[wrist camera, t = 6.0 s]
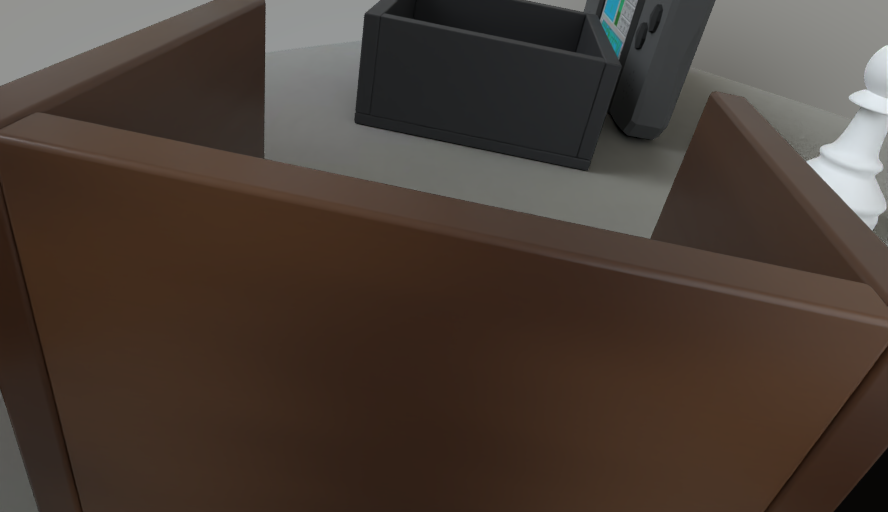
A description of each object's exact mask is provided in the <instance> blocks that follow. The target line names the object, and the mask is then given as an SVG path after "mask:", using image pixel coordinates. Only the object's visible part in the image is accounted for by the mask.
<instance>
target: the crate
mask: <svg viewBox="0 0 888 512" xmlns="http://www.w3.org/2000/svg"><path fill="white" fill-rule="evenodd" d="M264 105H265V0H213V1H211V2H208V3H206V4H203V5H201V6H199V7H196V8H193V9H191V10H188V11H186V12H183V13H181V14H179V15H176V16H174V17H171V18H169V19H166V20H164V21H161V22H159V23H156V24H154V25H151V26H149V27H146V28H144V29H141V30H139V31H136V32H134V33H131V34H129V35H126V36H124V37H121V38H119V39H116V40H114V41H111V42H109V43H106V44H104V45H102V46H99V47H96V48H94V49H91V50H89V51H87V52H84V53H81V54H79V55H76V56H74V57H72V58H69V59H66V60H64V61H62V62H59V63H57V64H54V65H52V66H49V67H47V68H44V69H42V70H39V71H37V72H34V73H32V74H29V75H27V76H24V77H22V78H19V79H17V80H14V81H12V82H9V83H7V84H4V85H2V86H0V389H1V392H2V395H3V399H4V402H5V405H6V408H7V411H8V415H9V418H10V421H11V424H12V427H13V431H14V434H15V437H16V440H17V443H18V447H19V450H20V453H21V456H22V459H23V463H24V466H25V469H26V472H27V475H28V479H29V482H30V485H31V488H32V491H33V495H34V498H35V501H36V504H37V507H38V511H39V512H834V511H835V509H836V508H837V507H838V506H839V505H840V504H841V502H842V501H843V500H844V499H845V498H846V496H847V495H848V494H849V493H850V492H851V491H852V489H853V488H854V487H855V486H856V485H857V483H858V482H859V481H860V480H861V479H862V478H863V476H864V475H865V474H866V473H867V472H868V470H869V469H870V468H871V467H872V466H873V465H874V463H875V462H876V461H877V460H878V459H879V457H880V456H881V455H882V454H883V453H884V451H885V450H886V449H887V448H888V247H887V246H886V244H885V243H884V242H883V241H882V240H881V239H880V238H879V237H878V236H877V235H876V234H875V233H874V232H873V231H872V230H871V229H870V228H869V227H868V226H867V225H866V224H865V223H864V222H863V220H862V219H861V218H860V217H859V216H858V215H857V214H856V213H855V212H854V211H853V210H852V209H851V208H850V207H849V206H848V205H847V204H846V203H845V202H844V201H843V200H842V199H841V198H840V196H839V195H838V194H837V193H836V192H835V191H834V190H833V189H832V188H831V187H830V186H829V185H828V184H827V183H826V182H825V181H824V180H823V179H822V178H821V177H820V176H819V175H818V174H817V172H816V171H815V170H814V169H813V168H812V167H811V166H810V165H809V164H808V163H807V162H806V161H805V160H804V159H803V158H802V157H801V156H800V155H799V154H798V153H797V152H796V151H795V150H794V148H793V147H792V146H791V145H790V144H789V143H788V142H787V141H786V140H785V139H784V138H783V137H782V136H781V135H780V134H779V133H778V132H777V131H776V130H775V129H774V128H773V127H772V126H771V124H770V123H769V122H768V121H767V120H766V119H765V118H764V117H763V116H762V115H761V114H760V113H759V112H758V111H757V110H756V109H755V108H754V107H753V106H752V105H751V104H750V103H749V102H748V100H747V99H745V98H744V97H740V96H736V95H731V94H726V93H721V92H712V93H711V94H710V96H709V98H708V101H707V103H706V106H705V108H704V110H703V113H702V115H701V118H700V120H699V122H698V125H697V127H696V130H695V132H694V135H693V137H692V139H691V142H690V144H689V147H688V149H687V151H686V154H685V156H684V159H683V161H682V164H681V166H680V168H679V171H678V173H677V176H676V178H675V180H674V183H673V185H672V188H671V190H670V193H669V195H668V197H667V200H666V202H665V205H664V207H663V209H662V212H661V214H660V217H659V219H658V222H657V224H656V226H655V229H654V231H653V234H652V236H651V238H650V239H647V238H643V237H638V236H633V235H628V234H623V233H619V232H614V231H609V230H604V229H599V228H594V227H590V226H585V225H580V224H575V223H570V222H566V221H561V220H556V219H551V218H546V217H542V216H537V215H532V214H527V213H522V212H517V211H513V210H508V209H503V208H498V207H493V206H489V205H484V204H479V203H474V202H469V201H465V200H460V199H455V198H450V197H445V196H440V195H436V194H431V193H426V192H421V191H416V190H412V189H407V188H402V187H397V186H392V185H387V184H383V183H378V182H373V181H368V180H363V179H359V178H354V177H349V176H344V175H339V174H335V173H330V172H325V171H320V170H315V169H310V168H306V167H301V166H296V165H291V164H286V163H282V162H277V161H272V160H267V159H264Z"/></svg>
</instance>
